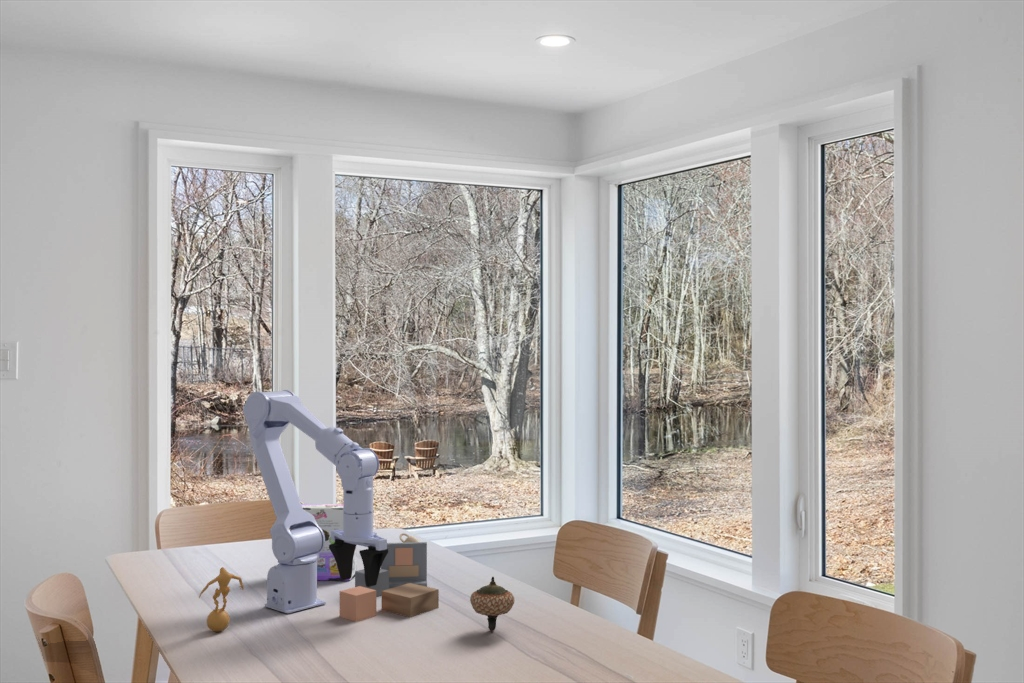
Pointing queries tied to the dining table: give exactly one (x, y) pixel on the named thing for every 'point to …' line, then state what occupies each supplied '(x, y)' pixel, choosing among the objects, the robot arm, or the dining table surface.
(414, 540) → the decorative ornament
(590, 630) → the dining table surface
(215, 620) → the figurine
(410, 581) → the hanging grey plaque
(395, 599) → the walnut base block
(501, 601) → the acorn
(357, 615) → the terracotta cube
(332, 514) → the candy box
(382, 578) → the charcoal cube
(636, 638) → the dining table surface
